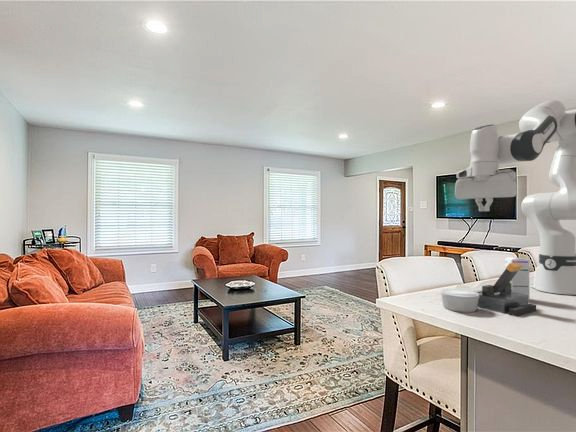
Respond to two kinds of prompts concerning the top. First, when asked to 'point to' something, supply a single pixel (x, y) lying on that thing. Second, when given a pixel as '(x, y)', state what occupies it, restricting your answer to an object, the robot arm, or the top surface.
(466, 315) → the top surface
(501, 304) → the stepped grey base plate
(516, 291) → the syrup box
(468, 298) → the ramekin
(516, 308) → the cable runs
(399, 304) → the top surface
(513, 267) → the lever
